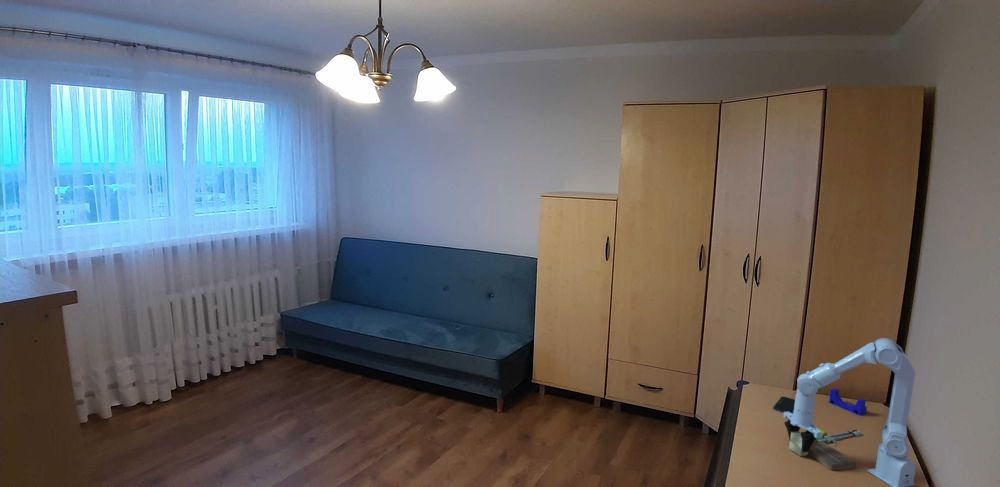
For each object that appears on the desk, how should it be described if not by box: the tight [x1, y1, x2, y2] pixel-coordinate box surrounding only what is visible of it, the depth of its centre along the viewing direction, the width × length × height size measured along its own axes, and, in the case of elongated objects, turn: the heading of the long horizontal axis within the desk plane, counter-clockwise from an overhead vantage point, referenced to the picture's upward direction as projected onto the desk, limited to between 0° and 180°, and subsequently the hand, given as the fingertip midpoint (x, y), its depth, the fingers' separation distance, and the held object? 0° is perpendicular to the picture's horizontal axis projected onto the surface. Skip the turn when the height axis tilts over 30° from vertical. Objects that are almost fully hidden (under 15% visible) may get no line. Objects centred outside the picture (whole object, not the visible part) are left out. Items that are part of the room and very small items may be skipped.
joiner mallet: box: [788, 430, 818, 457], centre depth 179 cm, size 5×8×6 cm, turn 103°
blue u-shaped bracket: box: [828, 388, 868, 416], centre depth 214 cm, size 12×4×6 cm, turn 27°
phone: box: [772, 396, 795, 414], centre depth 214 cm, size 8×1×15 cm
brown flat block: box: [807, 441, 856, 471], centre depth 176 cm, size 13×9×2 cm
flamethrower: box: [813, 424, 862, 447], centre depth 190 cm, size 29×3×10 cm
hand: (798, 446), depth 179 cm, fingers closed on joiner mallet, 5 cm apart
